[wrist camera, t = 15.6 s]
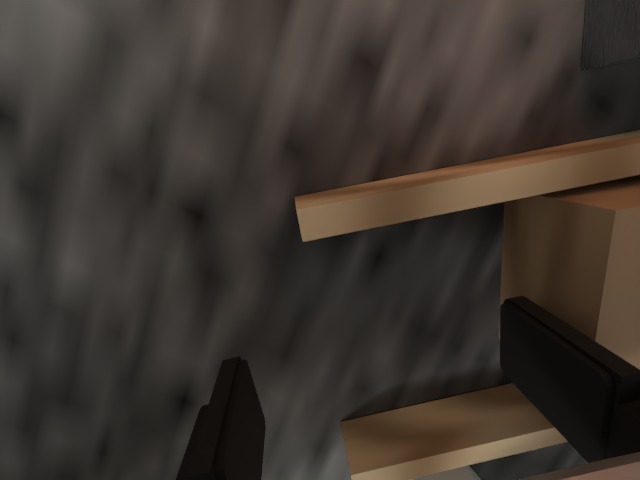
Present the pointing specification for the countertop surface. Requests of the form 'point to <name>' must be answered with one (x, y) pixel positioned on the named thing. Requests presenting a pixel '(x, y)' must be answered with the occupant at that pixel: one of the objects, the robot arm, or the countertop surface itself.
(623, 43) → the grey hollow block
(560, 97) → the countertop surface
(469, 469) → the jar
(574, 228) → the tan wooden block
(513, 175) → the bay
